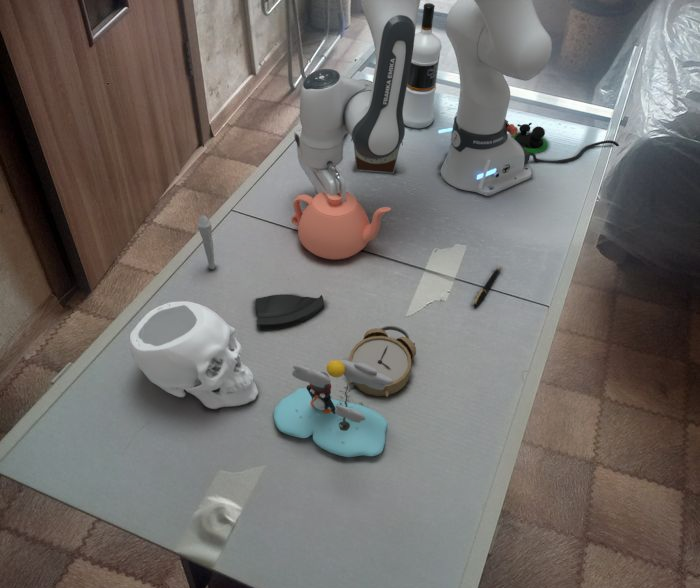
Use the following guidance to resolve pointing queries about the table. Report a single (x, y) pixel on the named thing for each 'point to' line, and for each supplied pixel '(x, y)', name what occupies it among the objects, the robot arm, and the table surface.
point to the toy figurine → (531, 138)
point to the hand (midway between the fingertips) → (321, 204)
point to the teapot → (334, 225)
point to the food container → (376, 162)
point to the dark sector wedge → (285, 310)
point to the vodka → (422, 74)
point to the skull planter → (192, 354)
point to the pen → (207, 239)
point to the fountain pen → (486, 288)
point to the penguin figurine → (334, 411)
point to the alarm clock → (385, 358)
